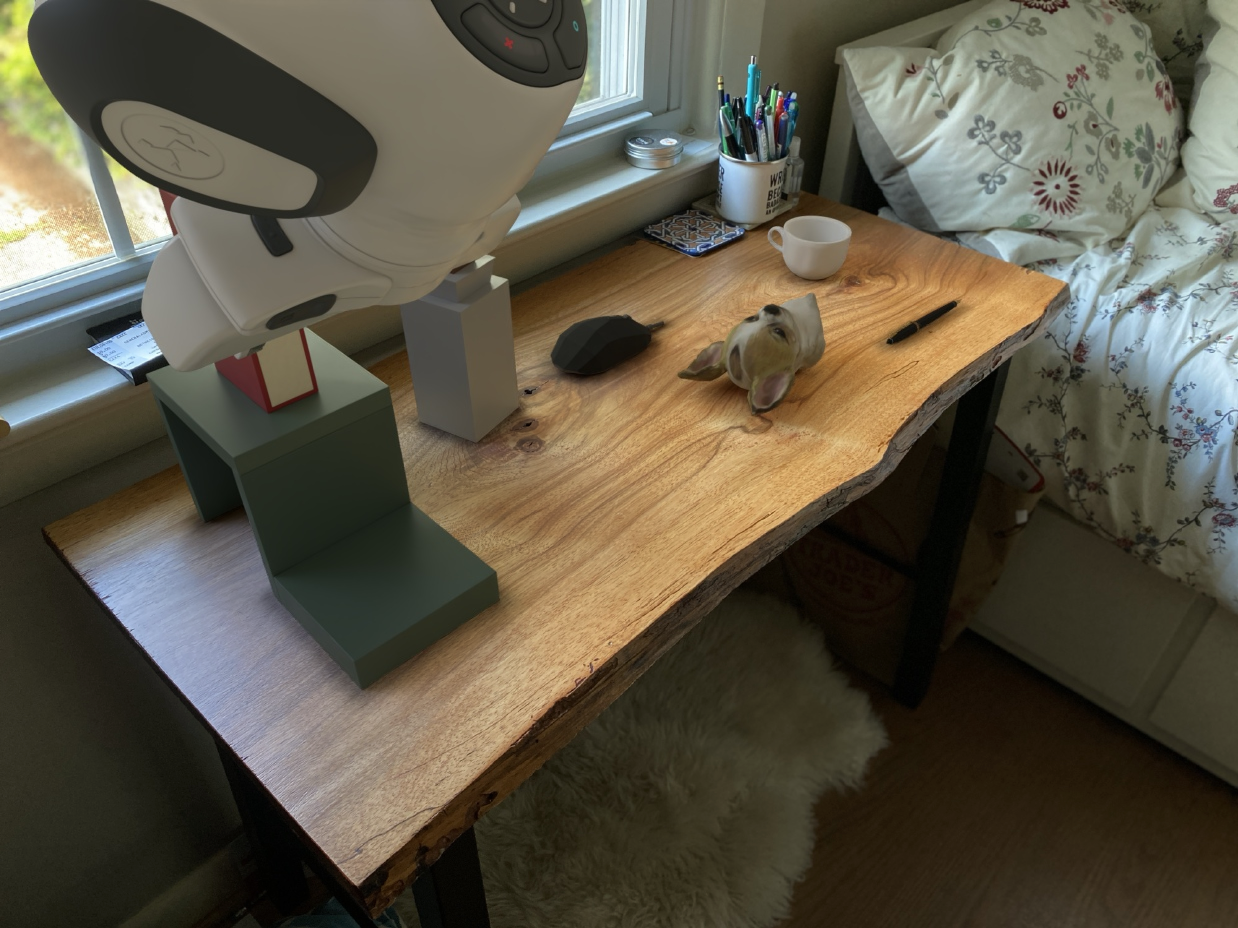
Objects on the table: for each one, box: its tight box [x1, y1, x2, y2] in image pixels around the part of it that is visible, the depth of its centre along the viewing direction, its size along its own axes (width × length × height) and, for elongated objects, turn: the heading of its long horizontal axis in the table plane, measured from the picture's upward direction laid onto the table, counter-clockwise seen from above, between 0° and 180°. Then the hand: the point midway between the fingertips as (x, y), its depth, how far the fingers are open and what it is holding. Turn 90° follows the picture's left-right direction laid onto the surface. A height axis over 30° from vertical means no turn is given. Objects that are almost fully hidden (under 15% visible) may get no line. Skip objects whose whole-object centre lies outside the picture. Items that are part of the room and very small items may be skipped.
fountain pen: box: [885, 298, 963, 346], centre depth 101 cm, size 14×1×2 cm, turn 132°
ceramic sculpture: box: [677, 292, 826, 416], centre depth 90 cm, size 11×9×15 cm
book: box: [157, 188, 319, 413], centre depth 64 cm, size 4×8×14 cm, turn 44°
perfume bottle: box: [398, 254, 520, 444], centre depth 83 cm, size 7×7×18 cm
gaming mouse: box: [550, 313, 665, 376], centre depth 97 cm, size 6×15×4 cm, turn 132°
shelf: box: [145, 327, 501, 691], centre depth 69 cm, size 12×25×14 cm, turn 44°
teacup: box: [767, 215, 853, 281], centre depth 111 cm, size 10×8×5 cm
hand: (315, 315), depth 56 cm, fingers open, 8 cm apart
